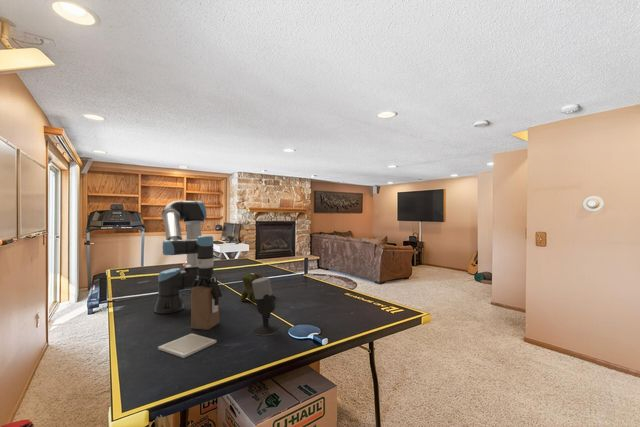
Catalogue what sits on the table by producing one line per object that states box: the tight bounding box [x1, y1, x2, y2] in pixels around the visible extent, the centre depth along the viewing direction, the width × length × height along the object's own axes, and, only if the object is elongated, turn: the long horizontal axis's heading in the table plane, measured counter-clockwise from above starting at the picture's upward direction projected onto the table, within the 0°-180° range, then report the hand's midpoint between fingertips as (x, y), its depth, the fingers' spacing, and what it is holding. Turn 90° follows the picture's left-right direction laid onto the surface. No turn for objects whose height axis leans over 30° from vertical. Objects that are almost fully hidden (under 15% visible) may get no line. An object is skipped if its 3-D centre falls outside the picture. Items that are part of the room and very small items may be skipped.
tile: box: [157, 332, 217, 359], centre depth 125 cm, size 16×16×1 cm
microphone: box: [251, 276, 280, 337], centre depth 141 cm, size 13×13×25 cm
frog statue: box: [240, 272, 264, 303], centre depth 194 cm, size 19×16×25 cm
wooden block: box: [190, 285, 220, 331], centre depth 147 cm, size 10×10×20 cm
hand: (205, 309), depth 147 cm, fingers open, 13 cm apart
